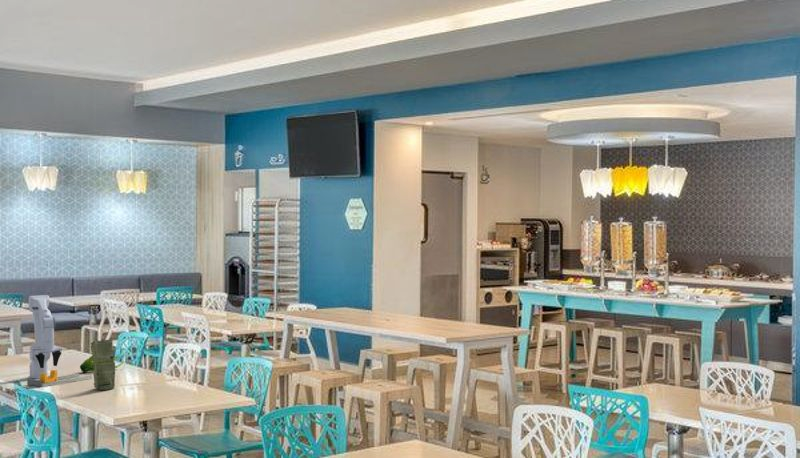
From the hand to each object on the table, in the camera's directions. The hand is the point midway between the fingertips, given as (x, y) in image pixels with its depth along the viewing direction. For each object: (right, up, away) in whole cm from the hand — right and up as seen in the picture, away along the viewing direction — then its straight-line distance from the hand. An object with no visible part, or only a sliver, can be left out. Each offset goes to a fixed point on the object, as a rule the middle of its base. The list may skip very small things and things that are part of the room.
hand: (48, 366), depth 477 cm
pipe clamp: (0, -9, -1) cm, 9 cm away
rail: (+4, -9, +5) cm, 11 cm away
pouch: (+34, -9, -17) cm, 39 cm away
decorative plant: (+16, -8, +43) cm, 47 cm away
